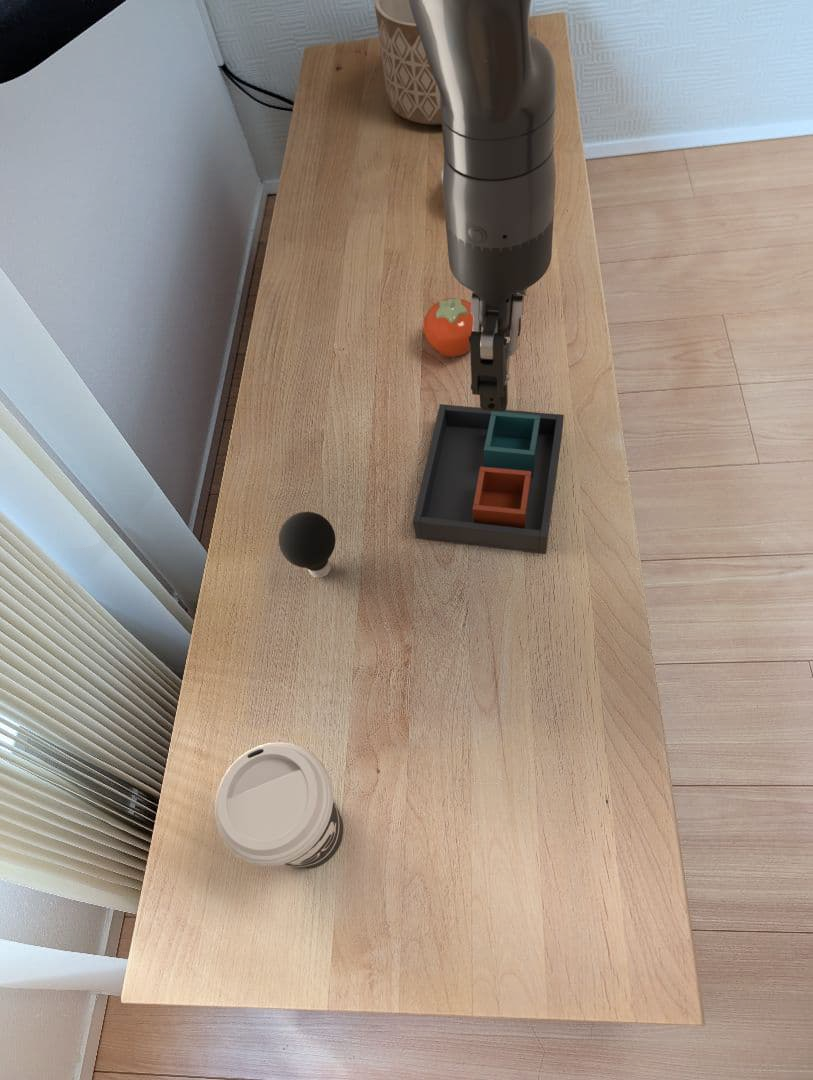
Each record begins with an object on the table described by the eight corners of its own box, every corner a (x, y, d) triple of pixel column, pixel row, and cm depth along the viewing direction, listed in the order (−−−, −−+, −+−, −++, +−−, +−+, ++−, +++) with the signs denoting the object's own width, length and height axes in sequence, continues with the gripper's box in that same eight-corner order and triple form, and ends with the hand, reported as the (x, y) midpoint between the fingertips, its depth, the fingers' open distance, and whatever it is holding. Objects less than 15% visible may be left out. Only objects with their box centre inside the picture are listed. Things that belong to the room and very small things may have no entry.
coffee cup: (362, 779, 75) (332, 734, 62) (356, 887, 70) (322, 863, 57) (265, 779, 76) (216, 735, 63) (253, 886, 71) (197, 861, 58)
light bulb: (337, 599, 85) (318, 555, 77) (288, 589, 86) (263, 544, 78) (353, 554, 88) (337, 506, 79) (305, 544, 89) (284, 496, 81)
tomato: (478, 322, 104) (476, 274, 97) (485, 363, 100) (484, 316, 93) (423, 329, 104) (417, 282, 97) (428, 371, 100) (422, 325, 94)
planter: (365, 112, 131) (347, 5, 117) (437, 55, 137) (428, -52, 123) (455, 148, 123) (448, 38, 109) (526, 86, 130) (529, -25, 116)
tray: (562, 433, 93) (563, 414, 90) (546, 554, 85) (547, 537, 82) (442, 423, 96) (439, 403, 93) (415, 538, 88) (412, 521, 85)
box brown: (530, 493, 89) (531, 471, 85) (524, 536, 86) (525, 514, 82) (481, 489, 90) (480, 466, 86) (474, 530, 87) (472, 509, 83)
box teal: (539, 439, 92) (540, 415, 88) (533, 478, 90) (534, 454, 86) (492, 435, 93) (491, 410, 89) (484, 473, 91) (483, 449, 87)
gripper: (541, 282, 50) (534, 438, 64) (564, 145, 56) (553, 313, 70) (426, 276, 51) (444, 430, 65) (462, 143, 58) (471, 308, 72)
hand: (501, 369), depth 68 cm, fingers open, 8 cm apart
